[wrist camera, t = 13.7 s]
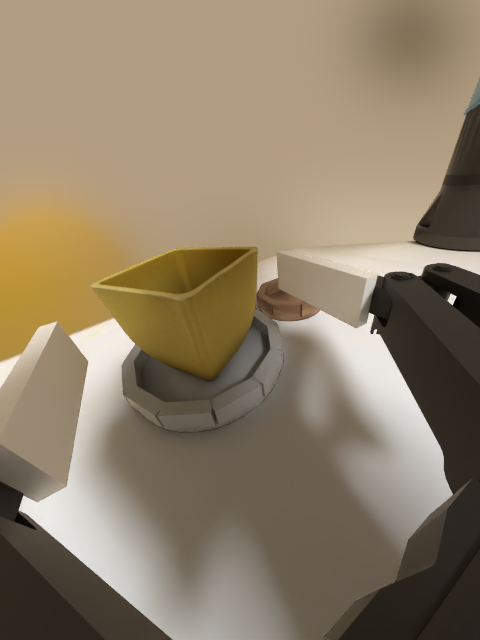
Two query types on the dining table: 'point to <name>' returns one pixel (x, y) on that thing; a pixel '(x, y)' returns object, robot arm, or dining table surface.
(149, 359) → the grey saucer
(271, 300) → the brown octagonal saucer
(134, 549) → the dining table surface
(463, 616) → the robot arm
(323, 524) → the dining table surface
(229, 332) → the flower pot
